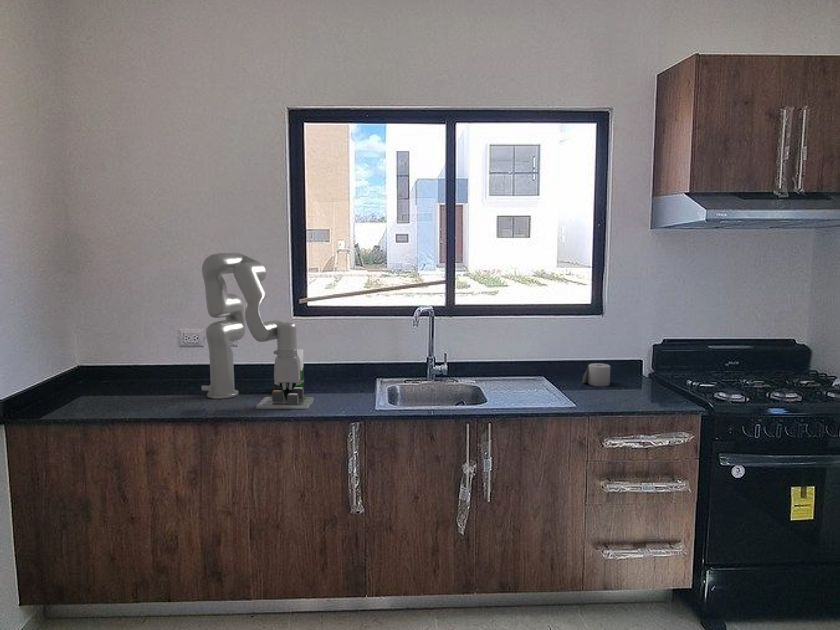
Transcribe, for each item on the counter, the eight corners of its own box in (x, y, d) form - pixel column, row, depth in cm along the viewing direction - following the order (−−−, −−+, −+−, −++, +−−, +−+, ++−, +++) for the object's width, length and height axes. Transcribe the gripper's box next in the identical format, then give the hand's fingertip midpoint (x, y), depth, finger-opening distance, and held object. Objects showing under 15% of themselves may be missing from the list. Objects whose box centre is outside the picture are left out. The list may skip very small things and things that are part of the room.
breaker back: (292, 398, 254) (292, 388, 253) (294, 396, 256) (293, 387, 256) (302, 398, 254) (302, 388, 253) (303, 396, 256) (303, 387, 255)
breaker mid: (272, 401, 249) (271, 391, 249) (273, 399, 251) (273, 390, 251) (282, 401, 249) (281, 391, 249) (283, 399, 251) (283, 390, 251)
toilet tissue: (577, 383, 285) (577, 365, 284) (600, 380, 290) (600, 362, 289) (590, 388, 277) (591, 368, 276) (613, 384, 282) (614, 366, 281)
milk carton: (287, 388, 277) (286, 343, 274) (306, 389, 275) (305, 344, 273) (279, 393, 268) (277, 347, 266) (298, 394, 267) (297, 347, 264)
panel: (256, 408, 244) (256, 404, 244) (265, 399, 257) (265, 396, 257) (307, 408, 244) (307, 405, 243) (313, 400, 257) (313, 396, 256)
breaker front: (287, 404, 244) (286, 394, 244) (288, 403, 246) (288, 393, 246) (297, 404, 244) (297, 394, 244) (298, 403, 246) (298, 393, 246)
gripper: (265, 355, 244) (267, 401, 246) (304, 355, 244) (305, 401, 246) (270, 351, 252) (272, 396, 254) (307, 352, 251) (308, 396, 254)
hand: (288, 398), depth 250 cm, fingers closed
